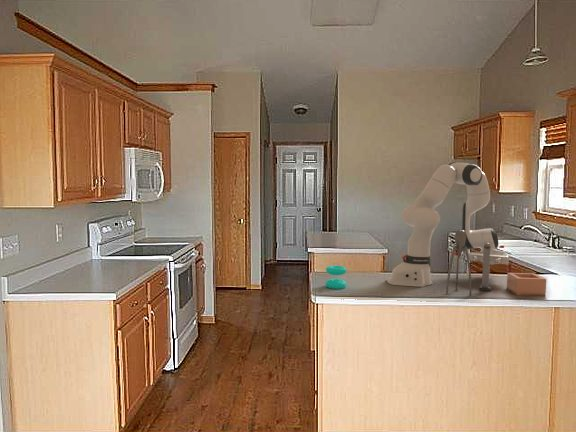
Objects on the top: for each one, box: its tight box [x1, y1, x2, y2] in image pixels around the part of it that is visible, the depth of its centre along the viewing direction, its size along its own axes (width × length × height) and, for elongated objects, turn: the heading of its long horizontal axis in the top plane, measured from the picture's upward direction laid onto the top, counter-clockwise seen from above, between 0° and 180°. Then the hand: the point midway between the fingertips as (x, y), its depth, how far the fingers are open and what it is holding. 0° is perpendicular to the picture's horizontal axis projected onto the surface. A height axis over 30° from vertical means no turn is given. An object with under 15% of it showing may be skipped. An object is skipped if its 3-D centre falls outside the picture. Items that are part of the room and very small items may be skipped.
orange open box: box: [506, 272, 547, 297], centre depth 249 cm, size 13×13×8 cm
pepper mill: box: [478, 243, 492, 292], centre depth 252 cm, size 5×5×23 cm
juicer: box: [445, 229, 472, 297], centre depth 246 cm, size 10×11×30 cm
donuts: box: [325, 265, 347, 290], centre depth 255 cm, size 10×10×10 cm
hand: (486, 260), depth 261 cm, fingers open, 8 cm apart
